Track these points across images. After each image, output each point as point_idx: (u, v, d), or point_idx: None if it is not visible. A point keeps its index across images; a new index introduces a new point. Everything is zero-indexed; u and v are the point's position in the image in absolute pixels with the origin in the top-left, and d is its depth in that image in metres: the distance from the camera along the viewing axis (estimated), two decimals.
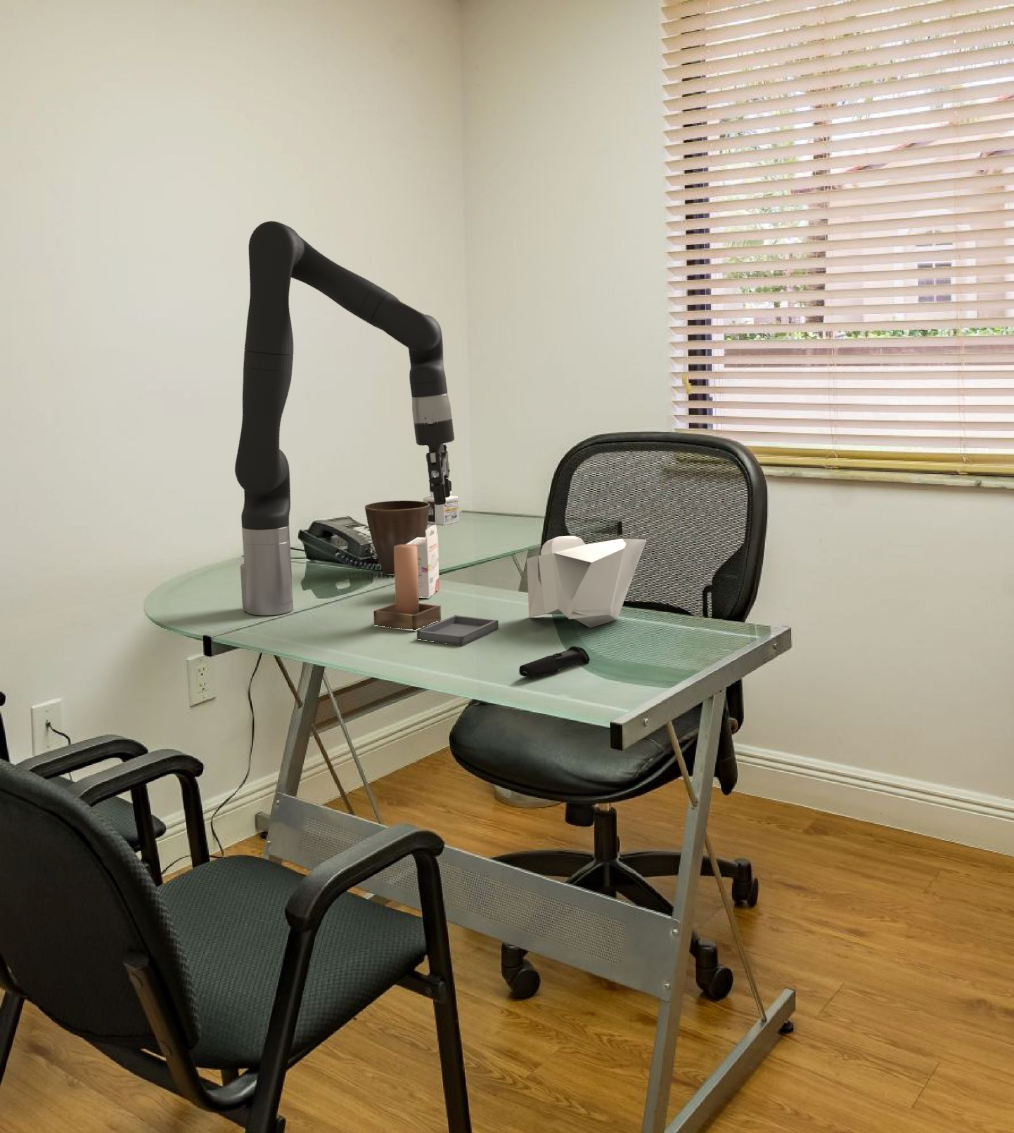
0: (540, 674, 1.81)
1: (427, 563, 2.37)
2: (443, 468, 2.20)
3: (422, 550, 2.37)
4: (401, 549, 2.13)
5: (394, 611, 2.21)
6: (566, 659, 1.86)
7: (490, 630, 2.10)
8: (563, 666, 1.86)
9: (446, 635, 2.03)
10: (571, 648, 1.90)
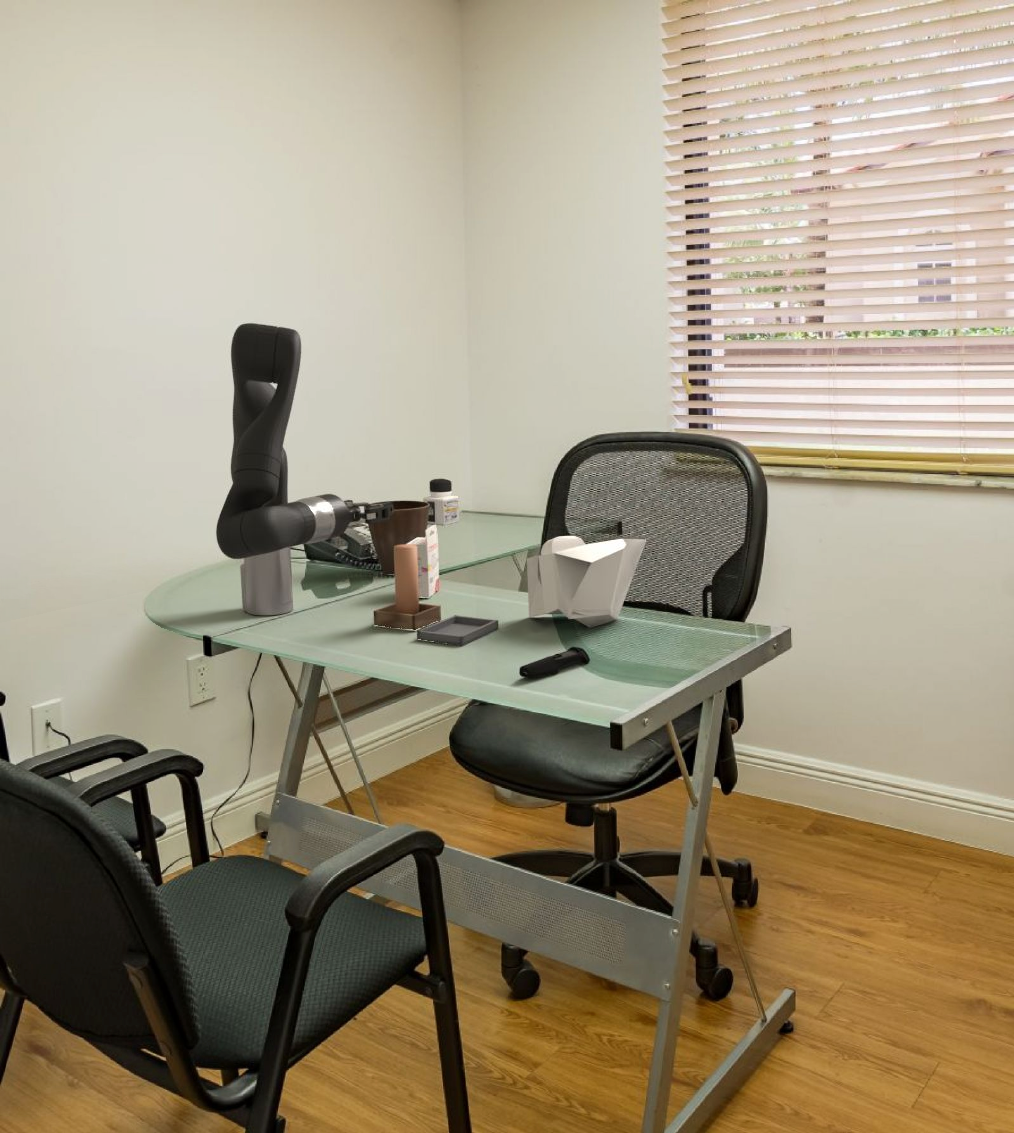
0: (540, 675, 1.81)
1: (427, 563, 2.37)
2: None
3: (422, 550, 2.37)
4: (401, 549, 2.13)
5: (394, 611, 2.21)
6: (566, 660, 1.86)
7: (490, 630, 2.10)
8: (563, 667, 1.86)
9: (446, 635, 2.03)
10: (571, 648, 1.90)
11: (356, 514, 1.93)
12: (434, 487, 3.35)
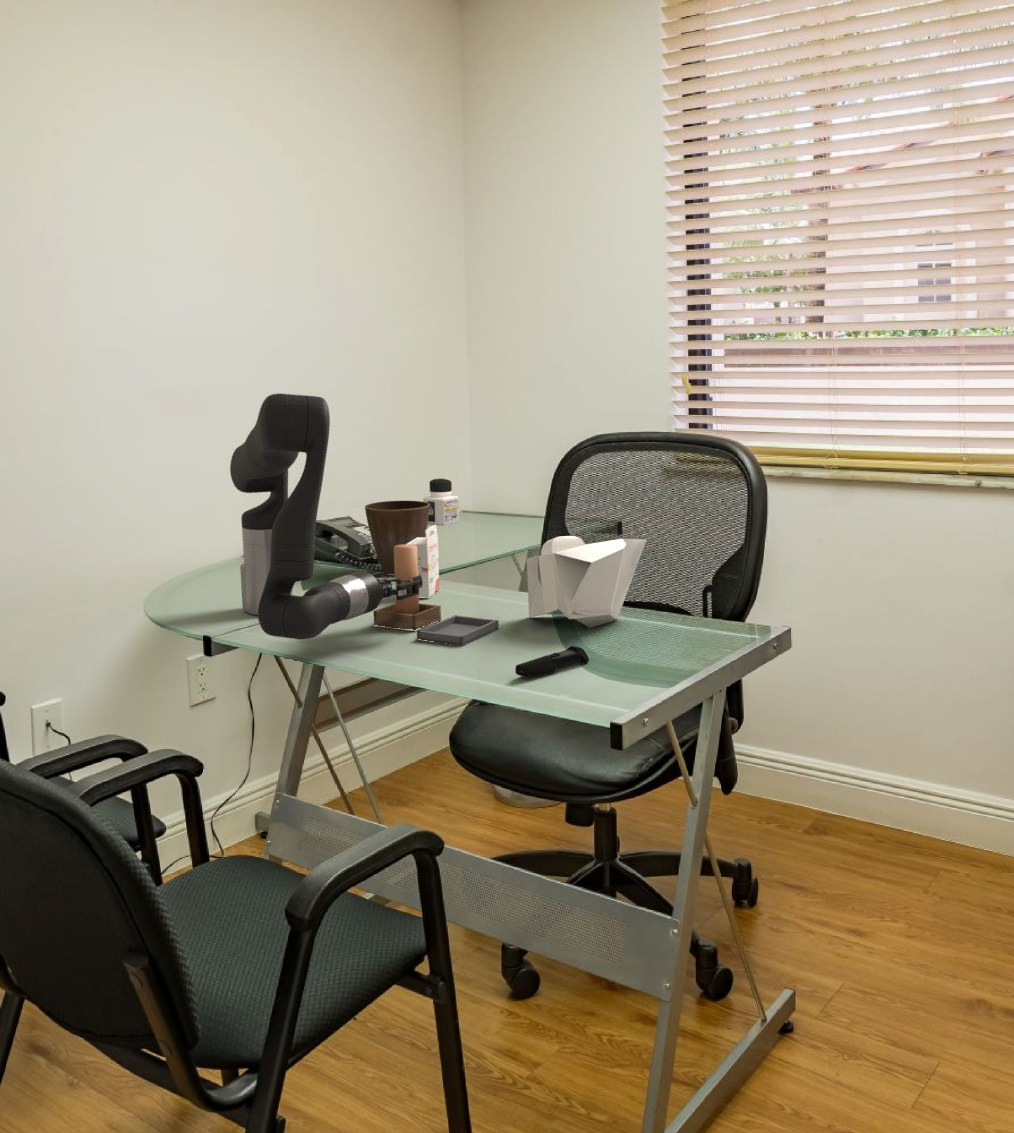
0: (536, 674, 1.81)
1: (427, 563, 2.37)
2: None
3: (422, 550, 2.37)
4: (401, 549, 2.13)
5: (394, 611, 2.21)
6: (564, 659, 1.86)
7: (490, 630, 2.10)
8: (561, 666, 1.86)
9: (446, 635, 2.03)
10: (570, 648, 1.90)
11: (388, 590, 2.04)
12: (434, 487, 3.35)
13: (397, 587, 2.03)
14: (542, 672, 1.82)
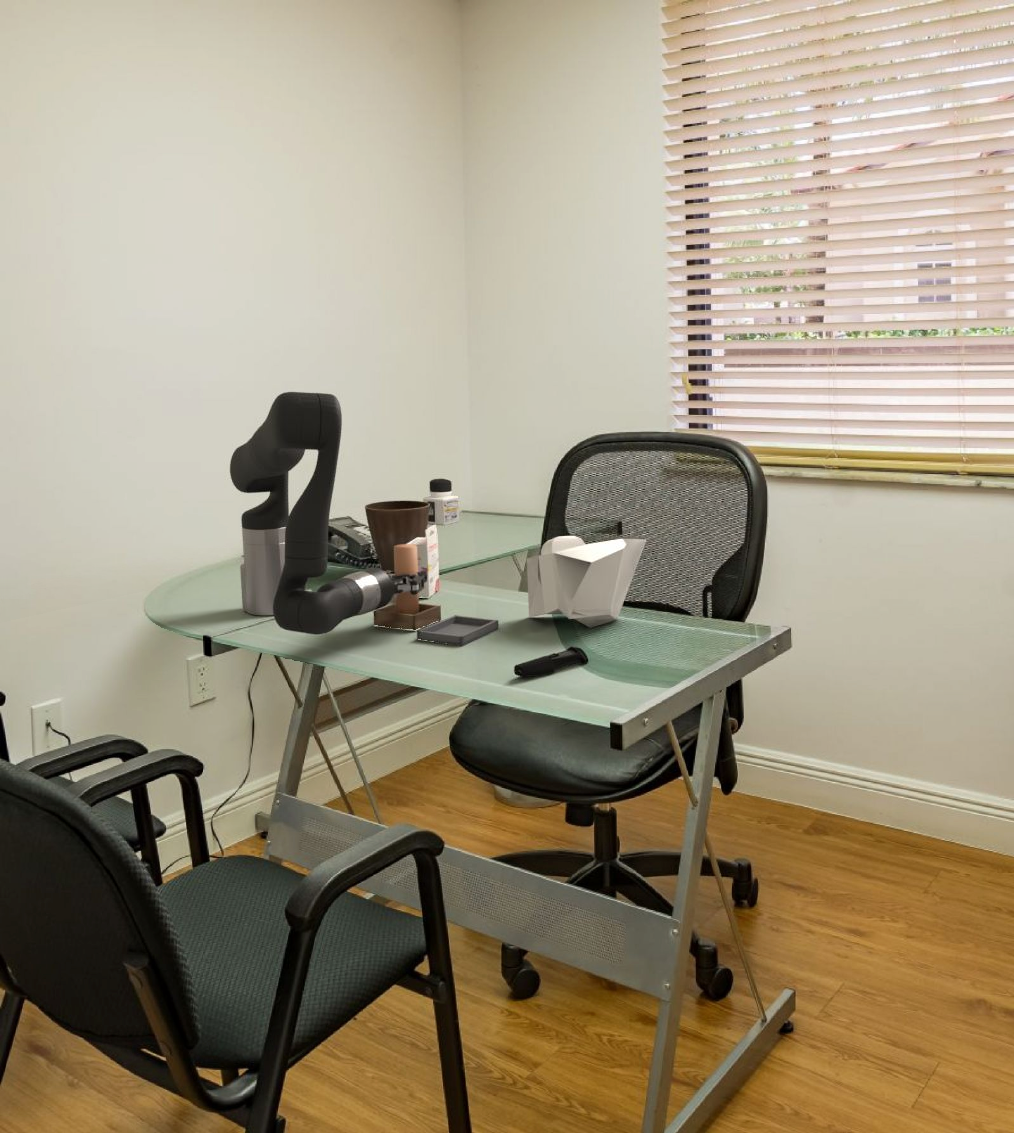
0: (535, 674, 1.82)
1: (427, 563, 2.37)
2: None
3: (422, 550, 2.37)
4: (401, 549, 2.13)
5: (394, 611, 2.21)
6: (563, 660, 1.86)
7: (490, 630, 2.10)
8: (560, 666, 1.86)
9: (446, 635, 2.03)
10: (569, 648, 1.90)
11: (401, 586, 2.08)
12: (434, 487, 3.35)
13: (412, 582, 2.07)
14: (541, 672, 1.82)
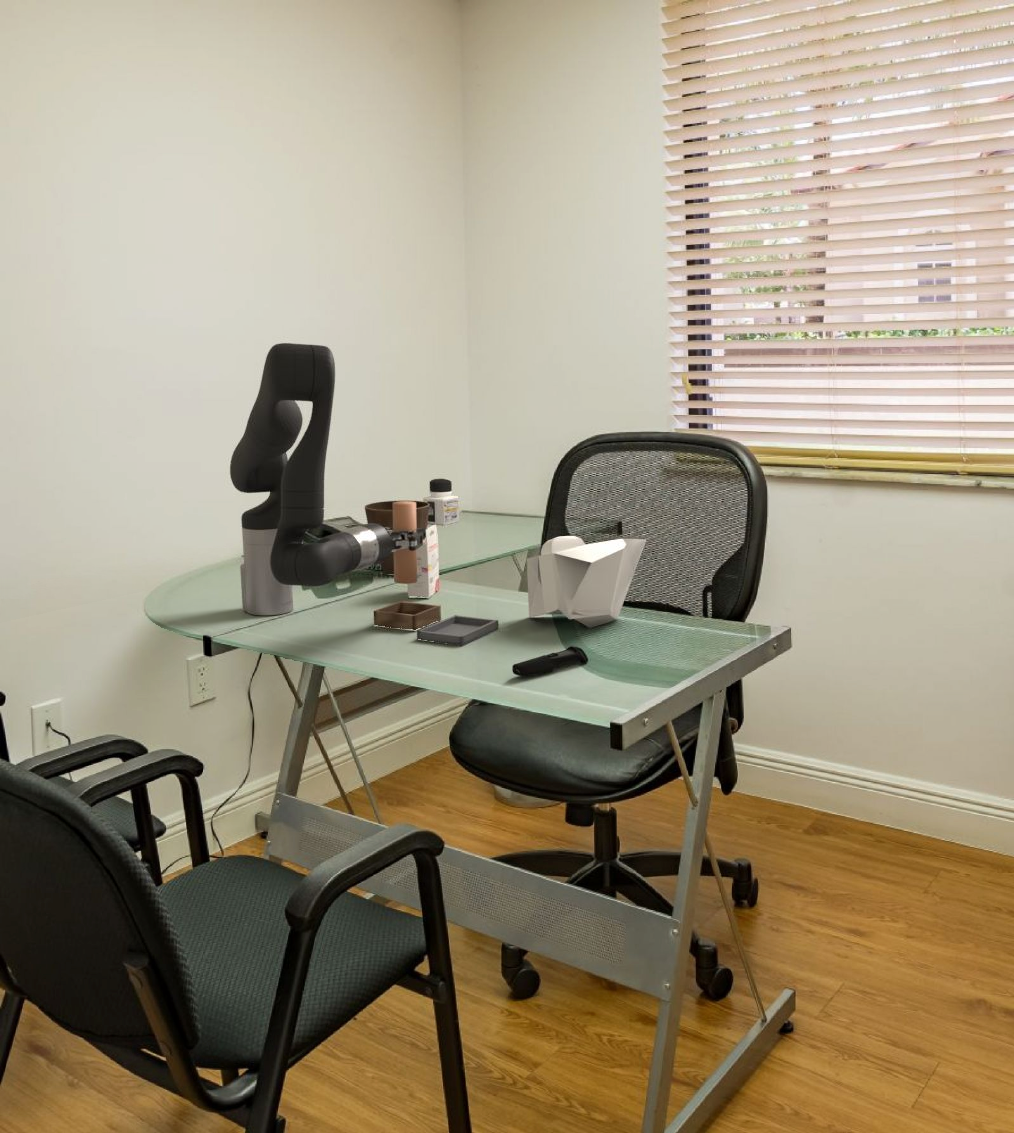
0: (533, 673, 1.82)
1: (427, 563, 2.37)
2: None
3: (422, 550, 2.37)
4: (400, 505, 2.12)
5: (394, 611, 2.21)
6: (562, 659, 1.86)
7: (490, 630, 2.10)
8: (559, 666, 1.86)
9: (446, 635, 2.03)
10: (569, 648, 1.90)
11: (399, 542, 2.06)
12: (434, 487, 3.35)
13: (411, 538, 2.05)
14: (539, 672, 1.82)
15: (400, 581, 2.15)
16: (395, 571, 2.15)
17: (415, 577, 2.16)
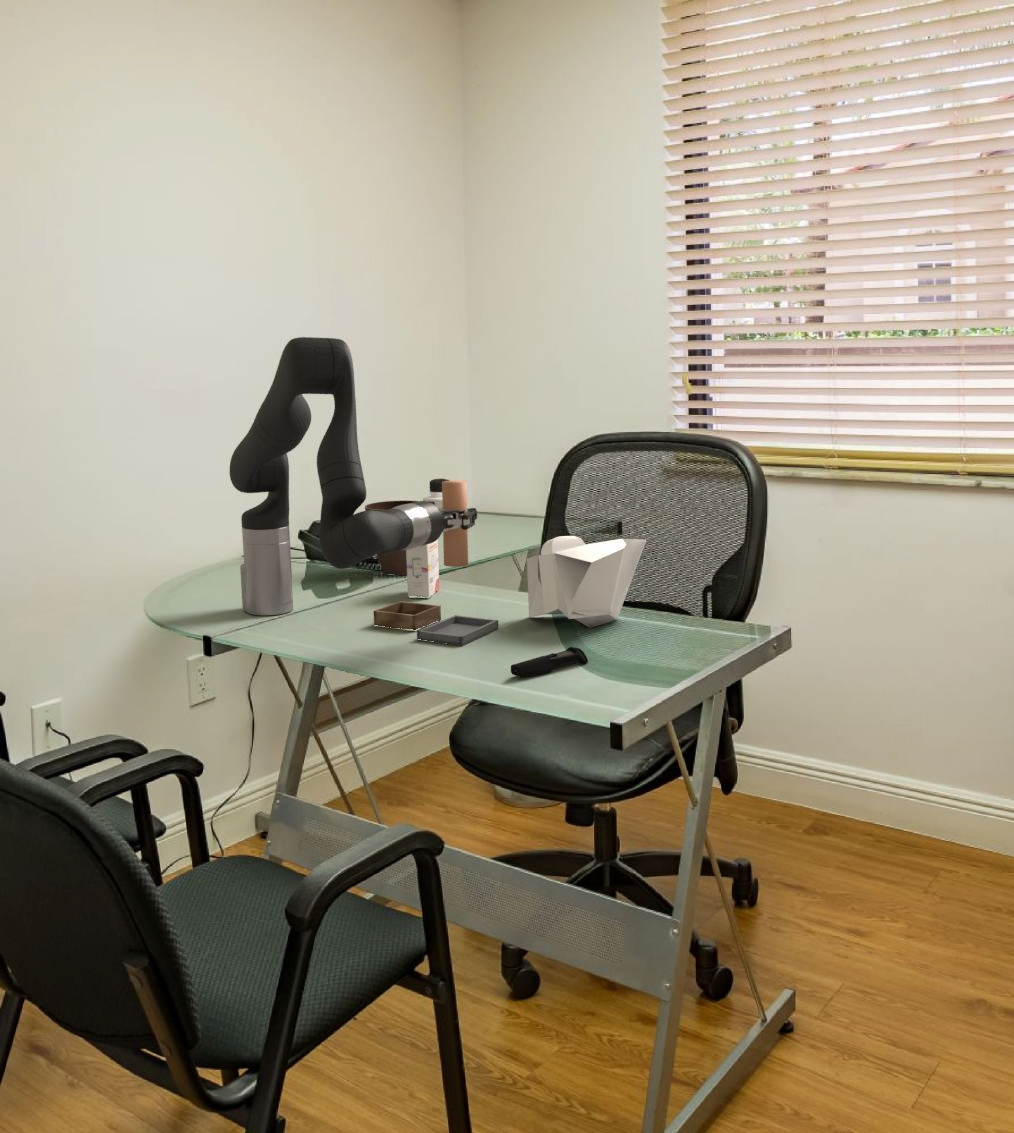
0: (532, 674, 1.82)
1: (427, 563, 2.37)
2: None
3: (422, 550, 2.37)
4: (450, 484, 2.02)
5: (394, 611, 2.21)
6: (561, 660, 1.86)
7: (490, 630, 2.10)
8: (558, 666, 1.86)
9: (446, 635, 2.03)
10: (569, 649, 1.90)
11: (451, 520, 1.96)
12: (434, 487, 3.35)
13: (463, 516, 1.96)
14: (538, 672, 1.83)
15: (450, 564, 2.05)
16: (445, 554, 2.05)
17: (466, 560, 2.05)
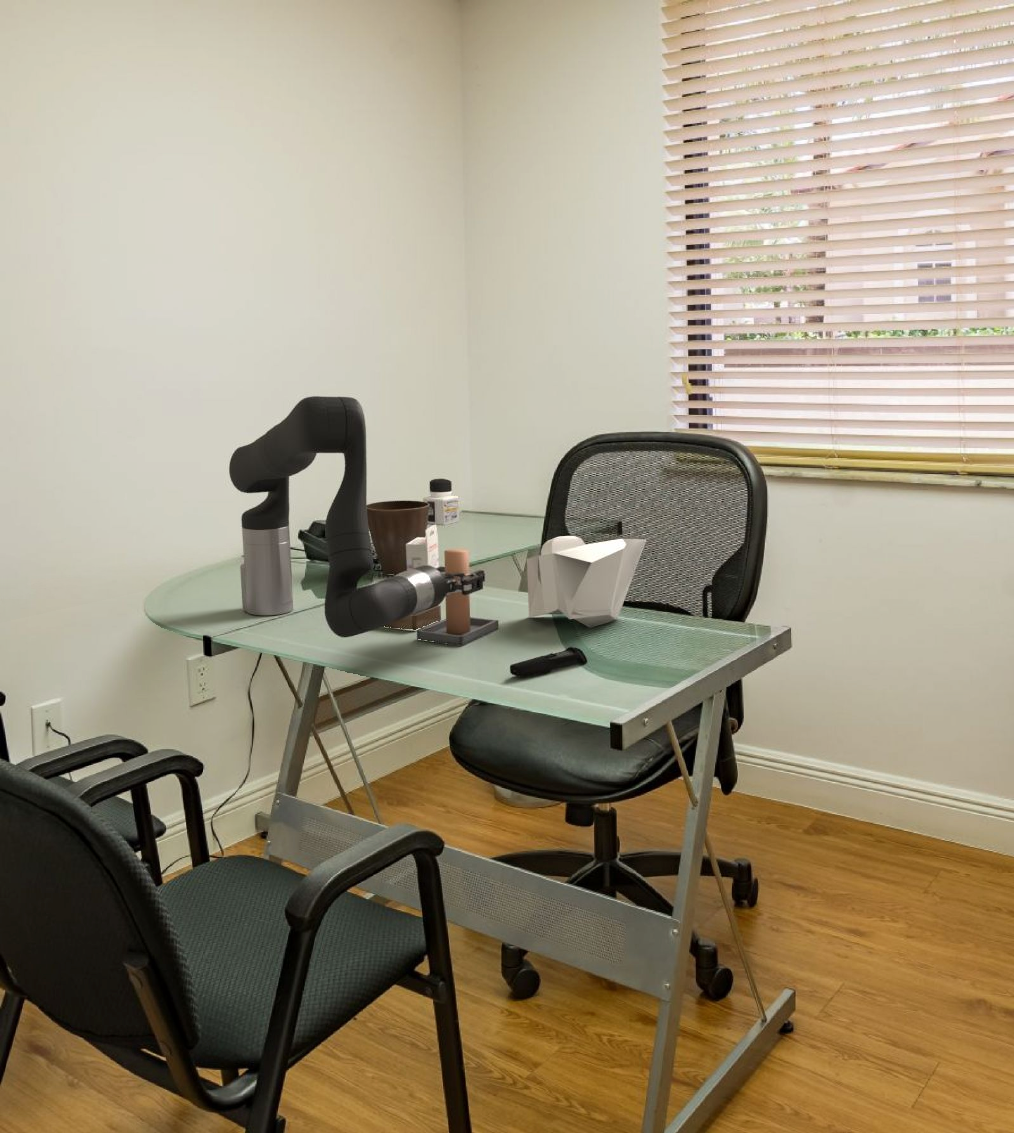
0: (531, 674, 1.82)
1: (427, 563, 2.37)
2: None
3: (422, 550, 2.37)
4: (452, 553, 2.05)
5: None
6: (560, 660, 1.86)
7: (490, 630, 2.10)
8: (557, 666, 1.86)
9: (446, 635, 2.03)
10: (568, 649, 1.90)
11: (453, 585, 1.98)
12: (434, 487, 3.35)
13: (463, 581, 1.97)
14: (537, 672, 1.83)
15: (453, 632, 2.07)
16: (447, 621, 2.08)
17: (468, 627, 2.08)
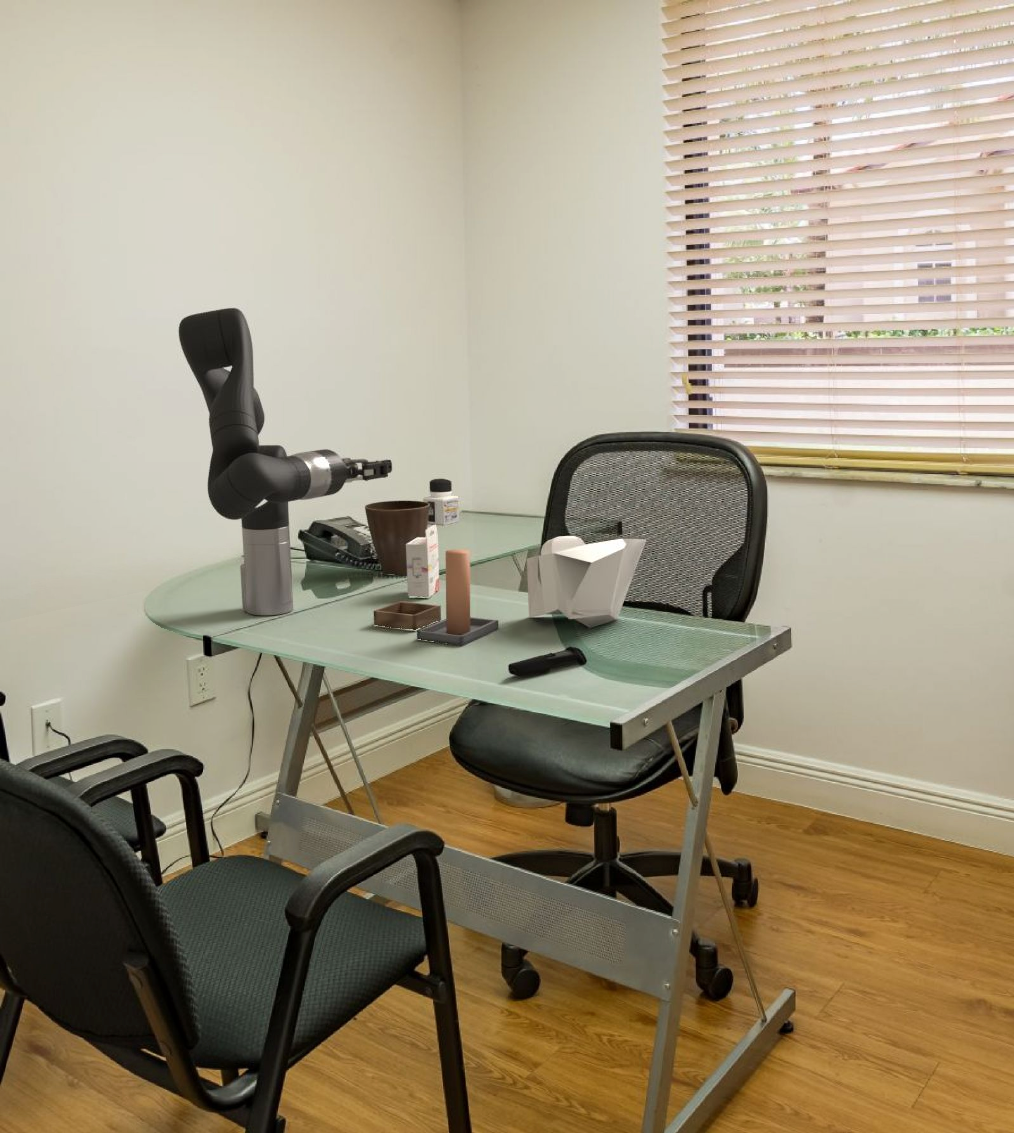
0: (529, 673, 1.82)
1: (427, 563, 2.37)
2: None
3: (422, 550, 2.37)
4: (453, 554, 2.04)
5: (394, 611, 2.21)
6: (559, 660, 1.86)
7: (490, 630, 2.10)
8: (556, 666, 1.86)
9: (446, 635, 2.03)
10: (568, 648, 1.89)
11: (353, 470, 1.87)
12: (434, 487, 3.35)
13: (363, 466, 1.85)
14: (535, 672, 1.83)
15: (453, 632, 2.07)
16: (447, 622, 2.08)
17: (468, 628, 2.08)
